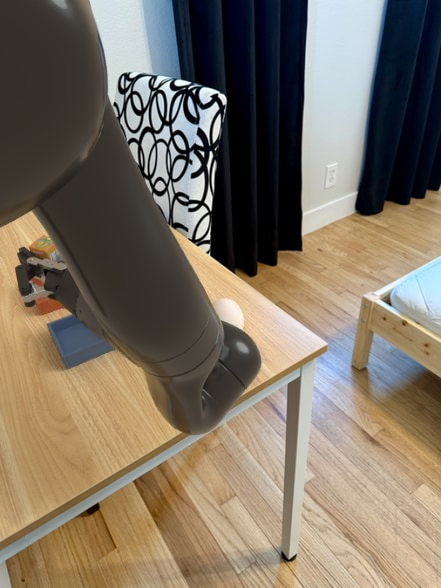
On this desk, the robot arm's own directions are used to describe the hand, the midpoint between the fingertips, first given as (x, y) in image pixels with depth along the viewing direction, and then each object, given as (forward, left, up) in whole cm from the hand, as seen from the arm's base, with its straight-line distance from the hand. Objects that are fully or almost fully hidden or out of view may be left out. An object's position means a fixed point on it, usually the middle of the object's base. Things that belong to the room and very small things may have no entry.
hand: (38, 247), depth 59 cm
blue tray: (+2, -2, -18) cm, 18 cm away
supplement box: (+1, -3, -8) cm, 9 cm away
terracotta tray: (+2, +13, -18) cm, 22 cm away
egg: (+21, -14, -18) cm, 31 cm away
